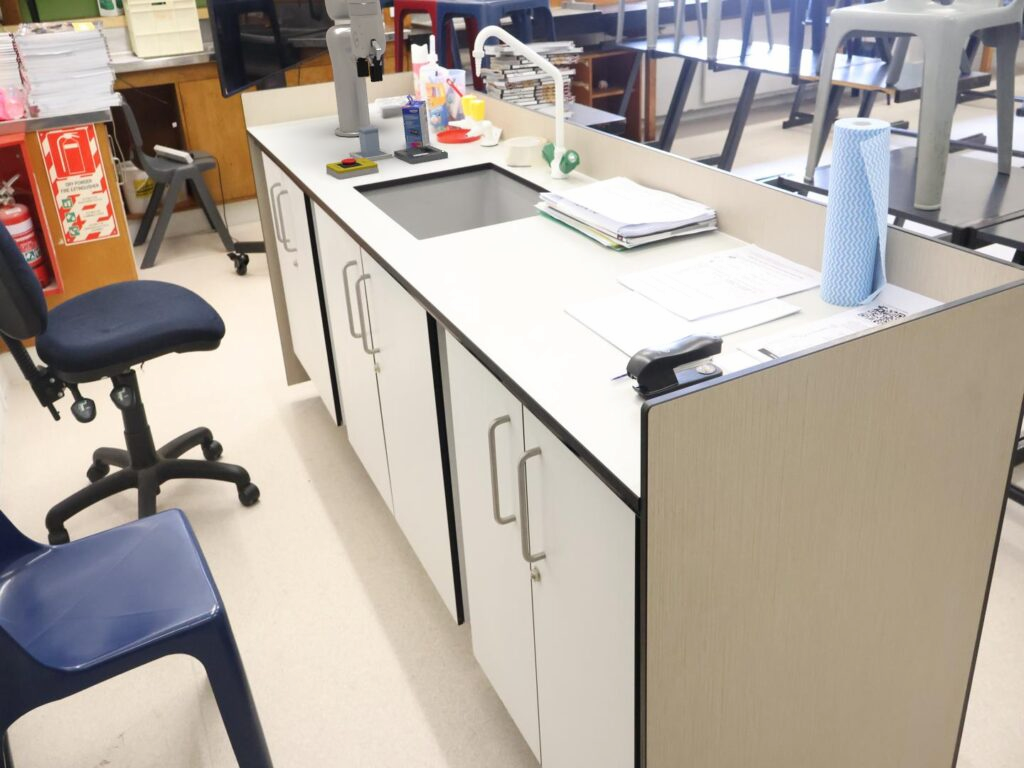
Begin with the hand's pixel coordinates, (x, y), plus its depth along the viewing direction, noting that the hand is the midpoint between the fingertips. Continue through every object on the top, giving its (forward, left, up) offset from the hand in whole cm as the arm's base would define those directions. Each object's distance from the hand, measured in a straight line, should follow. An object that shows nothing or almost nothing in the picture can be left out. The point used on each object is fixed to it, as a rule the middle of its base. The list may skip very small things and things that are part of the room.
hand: (370, 79), depth 242 cm
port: (+7, +10, -21) cm, 25 cm away
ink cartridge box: (-7, +16, -22) cm, 28 cm away
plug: (-2, -1, -21) cm, 21 cm away
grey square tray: (-2, -1, -21) cm, 22 cm away
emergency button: (+10, -12, -22) cm, 27 cm away
